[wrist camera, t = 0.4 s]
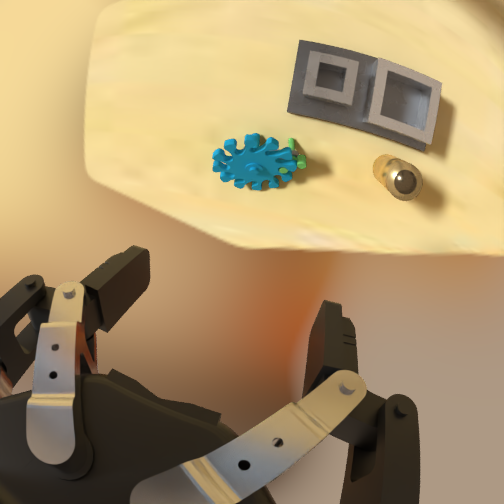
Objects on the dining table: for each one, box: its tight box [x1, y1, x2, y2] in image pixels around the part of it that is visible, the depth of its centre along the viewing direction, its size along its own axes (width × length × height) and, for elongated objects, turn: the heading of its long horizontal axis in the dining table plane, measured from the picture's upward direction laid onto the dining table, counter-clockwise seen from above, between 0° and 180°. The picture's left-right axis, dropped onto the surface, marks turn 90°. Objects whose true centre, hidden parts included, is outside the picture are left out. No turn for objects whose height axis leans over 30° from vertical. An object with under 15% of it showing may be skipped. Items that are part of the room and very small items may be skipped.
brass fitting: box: [373, 154, 422, 201], centre depth 27 cm, size 4×4×8 cm
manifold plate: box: [287, 40, 442, 151], centre depth 25 cm, size 10×18×5 cm, turn 81°
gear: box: [212, 133, 306, 190], centre depth 32 cm, size 11×6×10 cm
